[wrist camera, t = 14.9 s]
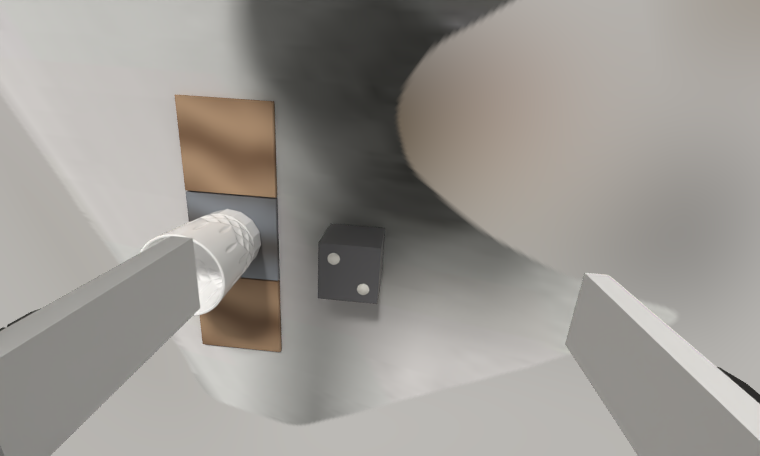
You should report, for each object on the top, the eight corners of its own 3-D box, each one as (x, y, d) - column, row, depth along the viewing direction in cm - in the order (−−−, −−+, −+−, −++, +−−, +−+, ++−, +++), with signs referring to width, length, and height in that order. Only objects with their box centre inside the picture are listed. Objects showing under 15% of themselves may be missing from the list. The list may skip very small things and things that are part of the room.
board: (177, 94, 37) (174, 94, 36) (274, 101, 36) (272, 101, 36) (204, 341, 47) (202, 343, 46) (281, 349, 46) (280, 351, 46)
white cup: (186, 241, 42) (121, 282, 32) (219, 189, 39) (160, 216, 30) (244, 281, 43) (198, 331, 33) (280, 232, 40) (241, 271, 31)
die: (330, 223, 40) (317, 243, 35) (385, 227, 40) (381, 248, 34) (329, 272, 42) (316, 298, 37) (381, 276, 42) (377, 304, 36)
